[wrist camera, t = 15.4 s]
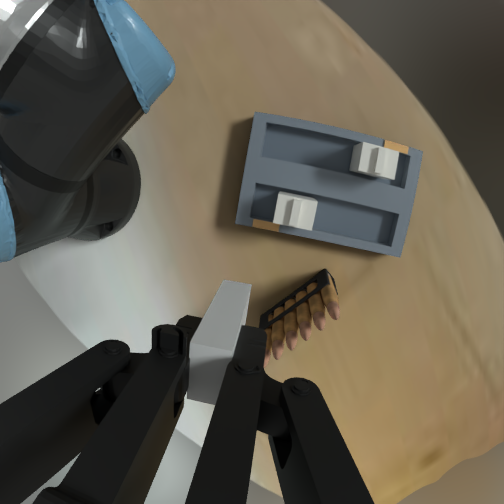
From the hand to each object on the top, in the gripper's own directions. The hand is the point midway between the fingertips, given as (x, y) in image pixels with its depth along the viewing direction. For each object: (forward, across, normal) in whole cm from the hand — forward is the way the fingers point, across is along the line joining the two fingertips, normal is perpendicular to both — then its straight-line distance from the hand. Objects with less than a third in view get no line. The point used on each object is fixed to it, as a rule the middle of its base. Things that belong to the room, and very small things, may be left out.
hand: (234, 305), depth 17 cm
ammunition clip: (+23, +6, -8) cm, 25 cm away
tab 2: (+21, +11, +10) cm, 26 cm away
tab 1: (+21, +3, +3) cm, 22 cm away
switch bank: (+23, +7, +7) cm, 25 cm away
